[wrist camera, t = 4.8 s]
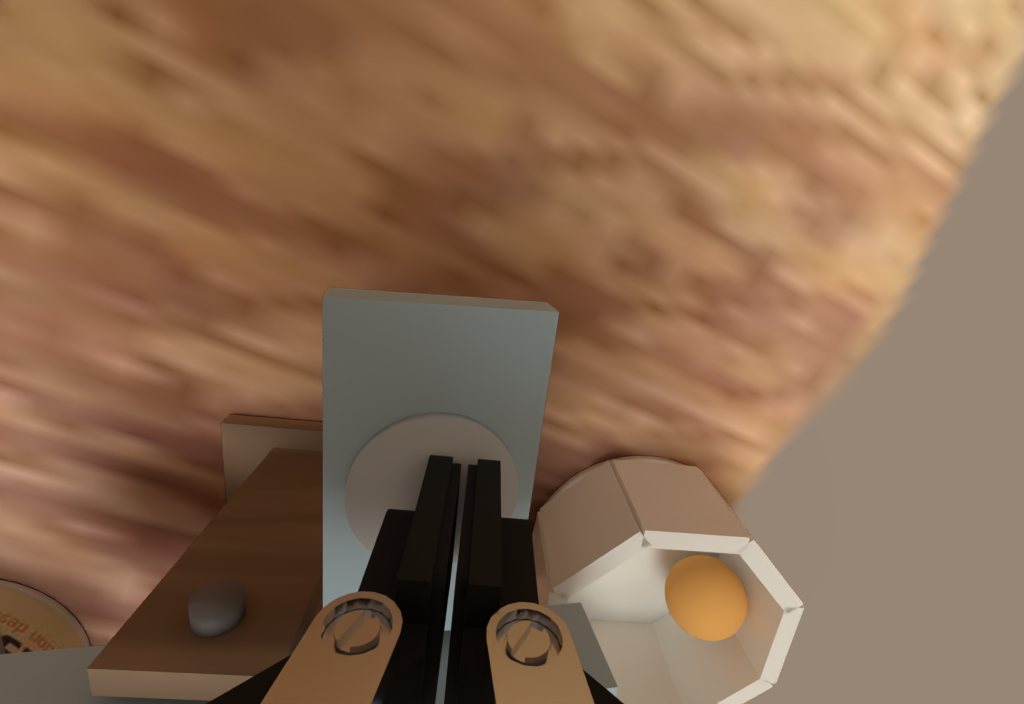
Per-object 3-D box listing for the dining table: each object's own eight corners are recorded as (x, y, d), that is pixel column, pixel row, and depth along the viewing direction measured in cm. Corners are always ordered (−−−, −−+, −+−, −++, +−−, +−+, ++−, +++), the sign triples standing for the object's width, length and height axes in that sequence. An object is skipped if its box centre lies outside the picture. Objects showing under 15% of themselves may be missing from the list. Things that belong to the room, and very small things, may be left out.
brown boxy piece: (230, 414, 20) (-22, 631, 10) (426, 430, 21) (368, 651, 11) (242, 606, 23) (57, 918, 13) (413, 616, 24) (359, 921, 14)
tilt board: (-370, 215, 10) (-1191, 254, 5) (605, 290, 15) (714, 347, 10) (-142, 765, 14) (-429, 1078, 9) (537, 679, 19) (586, 852, 14)
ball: (730, 608, 18) (771, 575, 20) (657, 554, 20) (700, 529, 22) (709, 674, 19) (750, 636, 21) (642, 616, 21) (684, 586, 23)
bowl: (545, 447, 21) (561, 524, 16) (752, 464, 22) (828, 543, 17) (518, 617, 24) (526, 726, 19) (703, 627, 25) (756, 735, 20)
